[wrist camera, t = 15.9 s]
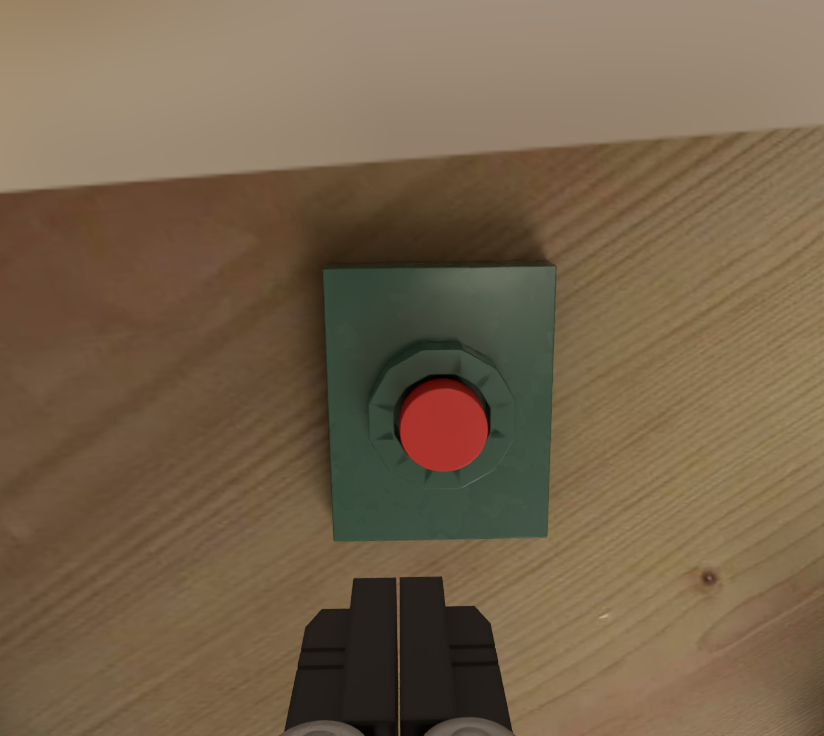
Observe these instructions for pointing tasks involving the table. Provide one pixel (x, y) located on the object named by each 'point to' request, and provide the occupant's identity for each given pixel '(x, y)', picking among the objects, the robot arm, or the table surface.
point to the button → (443, 425)
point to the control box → (432, 359)
